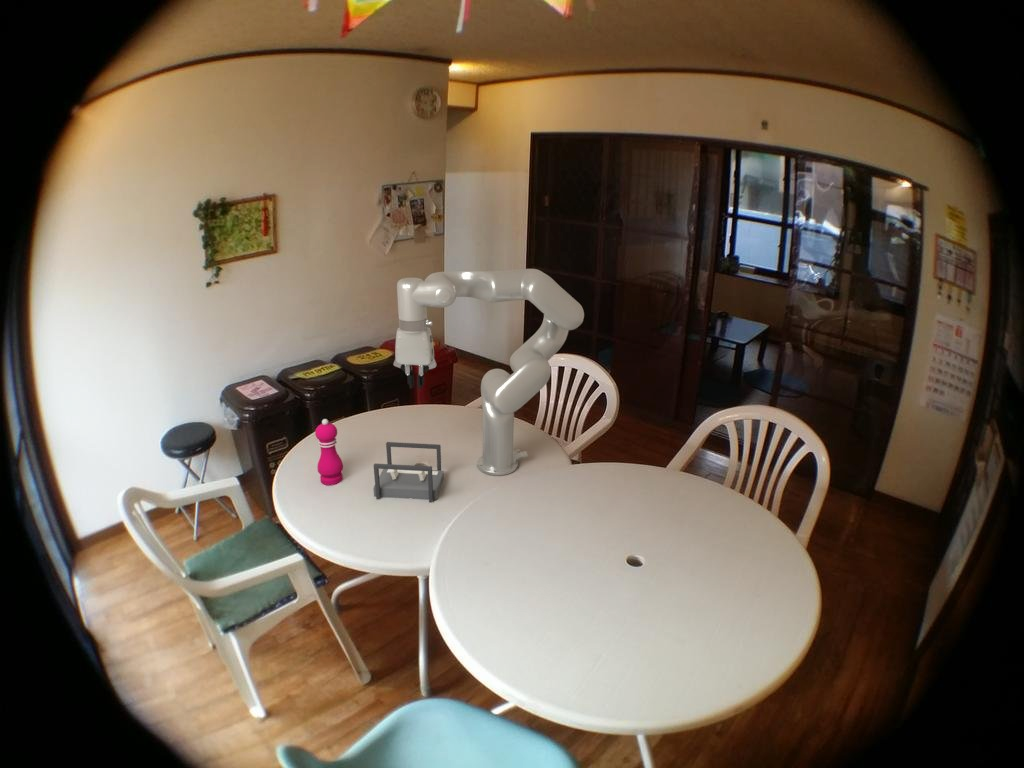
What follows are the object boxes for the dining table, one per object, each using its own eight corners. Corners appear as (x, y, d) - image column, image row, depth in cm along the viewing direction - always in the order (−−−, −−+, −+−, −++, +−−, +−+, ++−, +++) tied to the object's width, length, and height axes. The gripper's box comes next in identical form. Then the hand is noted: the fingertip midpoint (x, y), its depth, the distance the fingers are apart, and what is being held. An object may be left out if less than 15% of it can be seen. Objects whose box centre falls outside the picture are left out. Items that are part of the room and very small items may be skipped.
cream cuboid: (425, 475, 165) (423, 468, 164) (423, 480, 162) (421, 473, 162) (422, 475, 165) (420, 468, 164) (420, 480, 163) (418, 473, 162)
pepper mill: (348, 474, 171) (341, 414, 164) (338, 487, 165) (332, 425, 157) (325, 472, 172) (317, 413, 164) (314, 485, 165) (306, 424, 158)
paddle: (398, 473, 165) (396, 466, 164) (396, 478, 163) (393, 471, 162) (395, 474, 166) (392, 467, 165) (392, 479, 163) (390, 472, 162)
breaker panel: (443, 479, 170) (443, 470, 169) (437, 500, 160) (436, 490, 159) (384, 476, 171) (384, 467, 170) (374, 496, 161) (373, 487, 160)
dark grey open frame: (441, 476, 171) (440, 444, 167) (432, 502, 159) (431, 468, 154) (389, 474, 172) (386, 441, 168) (376, 499, 159) (373, 465, 155)
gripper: (444, 321, 157) (445, 383, 164) (388, 319, 158) (392, 380, 165) (439, 329, 150) (441, 393, 157) (380, 327, 151) (385, 391, 158)
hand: (416, 386), depth 161 cm, fingers closed
